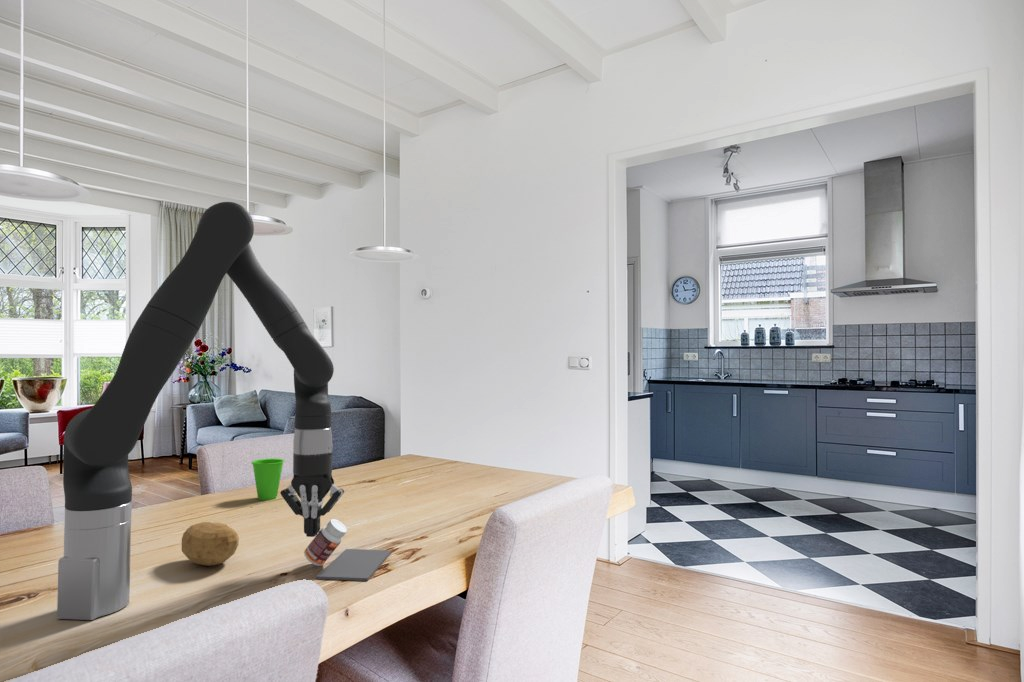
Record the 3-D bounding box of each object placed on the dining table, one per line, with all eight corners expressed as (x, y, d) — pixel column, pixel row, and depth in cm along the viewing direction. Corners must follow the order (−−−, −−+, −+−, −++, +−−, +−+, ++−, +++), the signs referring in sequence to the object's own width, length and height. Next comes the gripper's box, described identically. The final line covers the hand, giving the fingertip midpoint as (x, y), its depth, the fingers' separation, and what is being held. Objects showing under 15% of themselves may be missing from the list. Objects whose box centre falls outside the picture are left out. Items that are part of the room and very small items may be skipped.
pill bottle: (315, 569, 117) (342, 535, 117) (299, 552, 118) (325, 519, 118) (327, 563, 121) (352, 531, 121) (311, 547, 122) (336, 515, 122)
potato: (214, 550, 128) (215, 513, 128) (250, 564, 120) (251, 524, 120) (167, 563, 120) (168, 523, 120) (201, 578, 112) (202, 536, 112)
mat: (367, 580, 111) (367, 578, 111) (316, 578, 112) (316, 576, 112) (391, 552, 127) (391, 550, 127) (346, 551, 128) (346, 548, 128)
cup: (250, 496, 177) (251, 459, 177) (282, 493, 181) (283, 457, 181) (251, 503, 169) (251, 464, 169) (285, 500, 173) (285, 462, 173)
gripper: (272, 452, 117) (271, 540, 117) (337, 453, 116) (337, 542, 116) (289, 446, 124) (288, 529, 124) (350, 447, 124) (350, 530, 123)
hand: (312, 535), depth 120 cm, fingers closed
